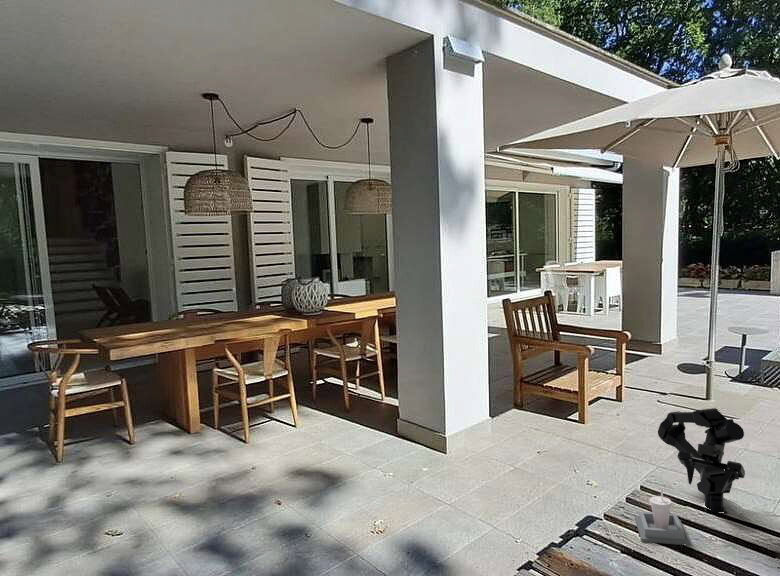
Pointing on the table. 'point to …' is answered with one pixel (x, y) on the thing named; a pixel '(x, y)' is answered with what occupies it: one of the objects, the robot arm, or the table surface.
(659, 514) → the smoothie
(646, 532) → the holder
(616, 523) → the table surface
